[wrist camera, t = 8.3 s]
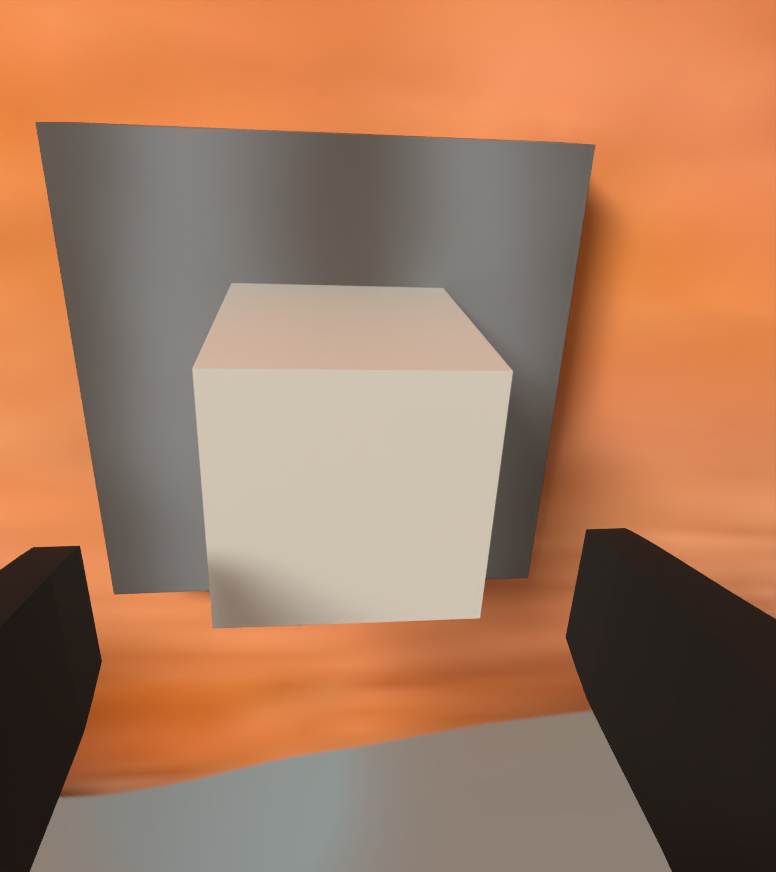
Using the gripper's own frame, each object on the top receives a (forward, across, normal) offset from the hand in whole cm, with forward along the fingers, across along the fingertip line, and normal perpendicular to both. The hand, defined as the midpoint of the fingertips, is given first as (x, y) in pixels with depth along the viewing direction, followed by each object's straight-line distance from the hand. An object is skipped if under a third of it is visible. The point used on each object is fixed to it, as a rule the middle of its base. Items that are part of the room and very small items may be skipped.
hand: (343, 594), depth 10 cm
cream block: (+8, 0, 0) cm, 8 cm away
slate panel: (+11, 0, 0) cm, 11 cm away
